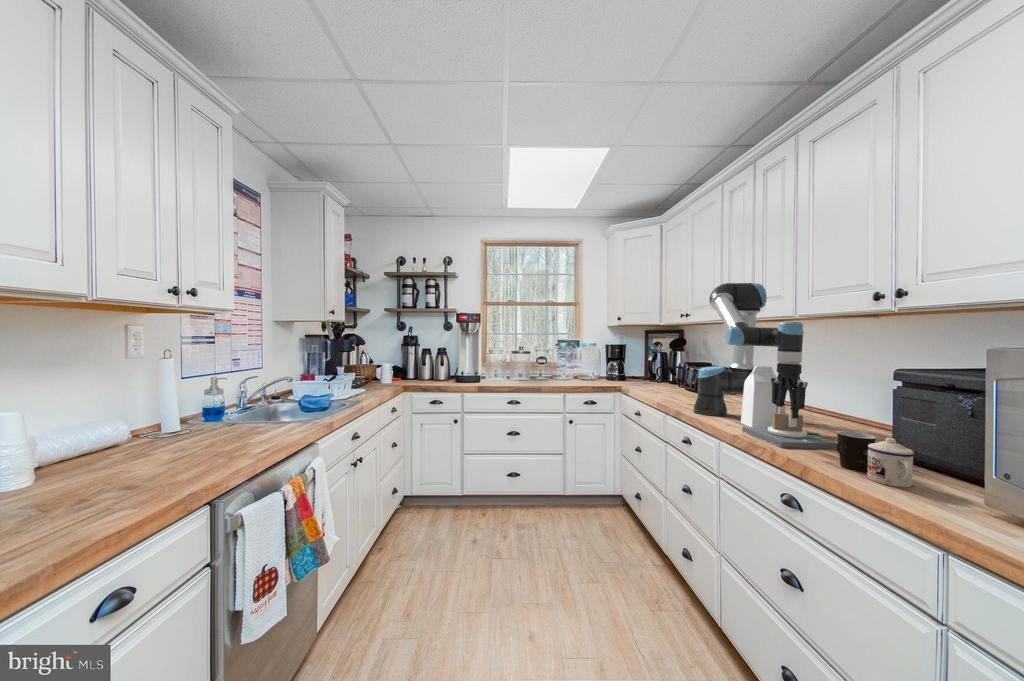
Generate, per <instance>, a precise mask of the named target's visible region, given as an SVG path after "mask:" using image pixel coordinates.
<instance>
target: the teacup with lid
mask: <svg viewBox="0 0 1024 681" xmlns="http://www.w3.org/2000/svg"><path fill="white" fill-rule="evenodd" d="M867 448H868V471H867V472H866V473H867V478H868V479H869V480H870V481H872V482H875V483H878V484H880V485H884V486H885V485H886V486H888V487H889V486H890V487H895V488H911V487H913V474H914V469H913V468H914V467H913V466H914V456H915V452H914V451H913V450H912V449H910V448H907V447H905V446H903V445H902V444H900V443H897V440H896V439H895V438H891V437H886V438H885V441H884V440H883V441H878V442H875V443H871V444H869V445H868V446H867Z"/></svg>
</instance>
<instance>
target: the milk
mask: <svg viewBox="0 0 1024 681" xmlns="http://www.w3.org/2000/svg"><path fill="white" fill-rule="evenodd" d="M754 366H755V367H754V369H753V371H752V372H751V374H750V375H749V376H748V377H747V379H746V380H745V382H744V392H743V394H742V404H741V419H740V423H741V424H743V425H744V424H745V425H744V426H746V425H747V426H746V427H748V426H749V427H770V426H772V416H773V413H776V412H777V406H776V404H773V403H772V382H771V378H777V375H776V374H775V372H774V370H773V367H772V366H765V365H754Z"/></svg>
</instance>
